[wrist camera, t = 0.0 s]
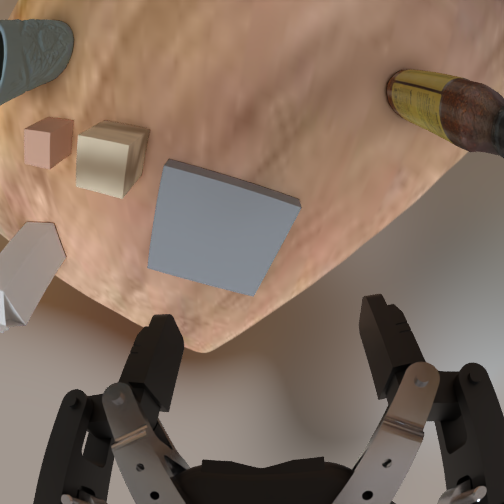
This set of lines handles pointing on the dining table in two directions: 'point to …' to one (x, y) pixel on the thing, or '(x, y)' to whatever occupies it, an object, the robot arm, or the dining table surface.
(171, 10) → the dining table surface
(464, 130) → the sauce bottle
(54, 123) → the terracotta block
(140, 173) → the beech cube
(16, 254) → the milk carton
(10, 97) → the teal cup
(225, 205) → the base board
